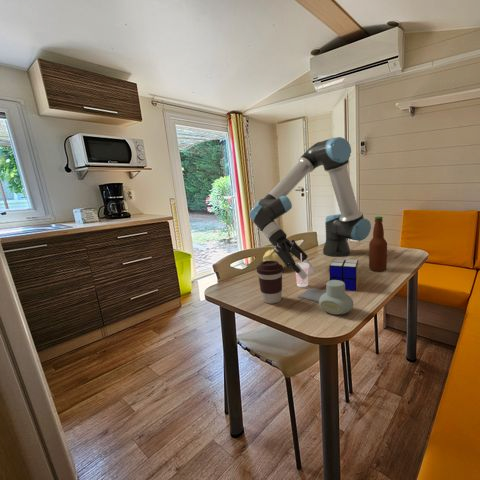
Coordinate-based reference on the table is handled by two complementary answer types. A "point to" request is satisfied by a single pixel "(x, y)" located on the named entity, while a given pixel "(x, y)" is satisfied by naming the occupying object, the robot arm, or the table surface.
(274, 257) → the sculpture
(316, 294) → the slate coaster
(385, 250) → the bottle
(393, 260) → the table surface
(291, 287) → the table surface
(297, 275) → the beverage cup
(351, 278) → the puzzle cube
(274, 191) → the robot arm
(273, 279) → the coffee cup
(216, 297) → the table surface
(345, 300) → the air freshener
